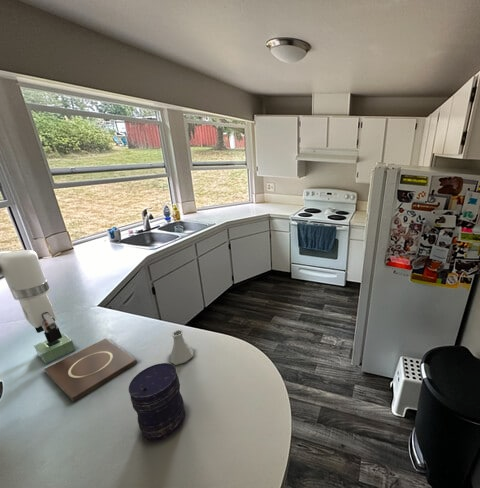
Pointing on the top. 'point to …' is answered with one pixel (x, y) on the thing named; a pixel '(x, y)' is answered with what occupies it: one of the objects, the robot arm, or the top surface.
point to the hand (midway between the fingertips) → (49, 335)
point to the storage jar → (157, 401)
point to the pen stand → (54, 349)
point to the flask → (180, 349)
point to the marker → (53, 341)
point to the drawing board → (89, 368)
